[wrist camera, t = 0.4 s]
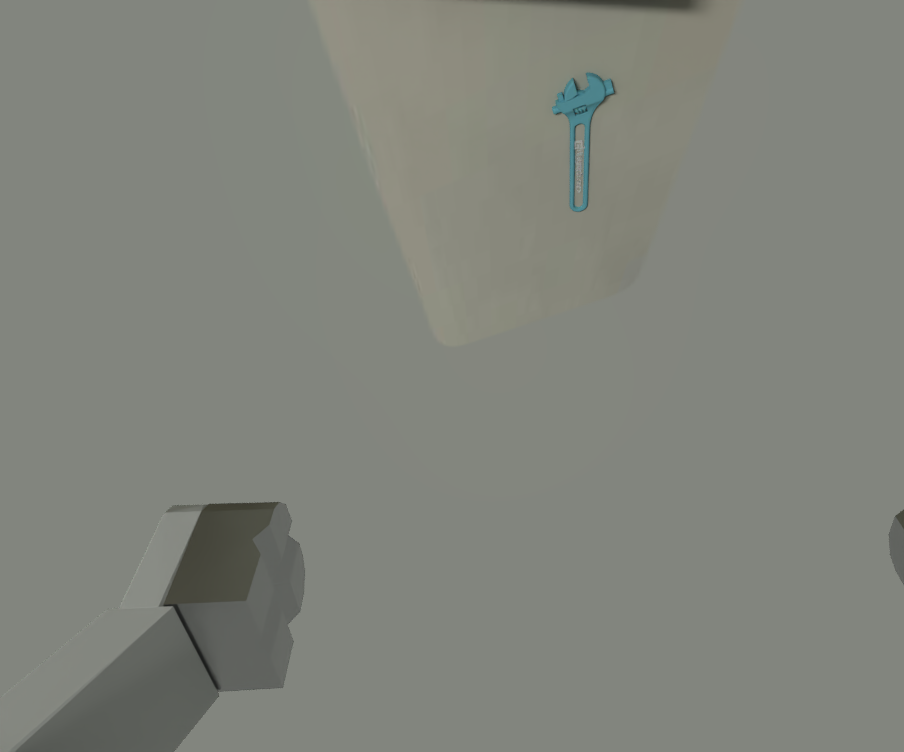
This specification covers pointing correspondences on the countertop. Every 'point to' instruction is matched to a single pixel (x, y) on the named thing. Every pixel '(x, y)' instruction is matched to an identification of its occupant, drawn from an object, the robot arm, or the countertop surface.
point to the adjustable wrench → (574, 104)
